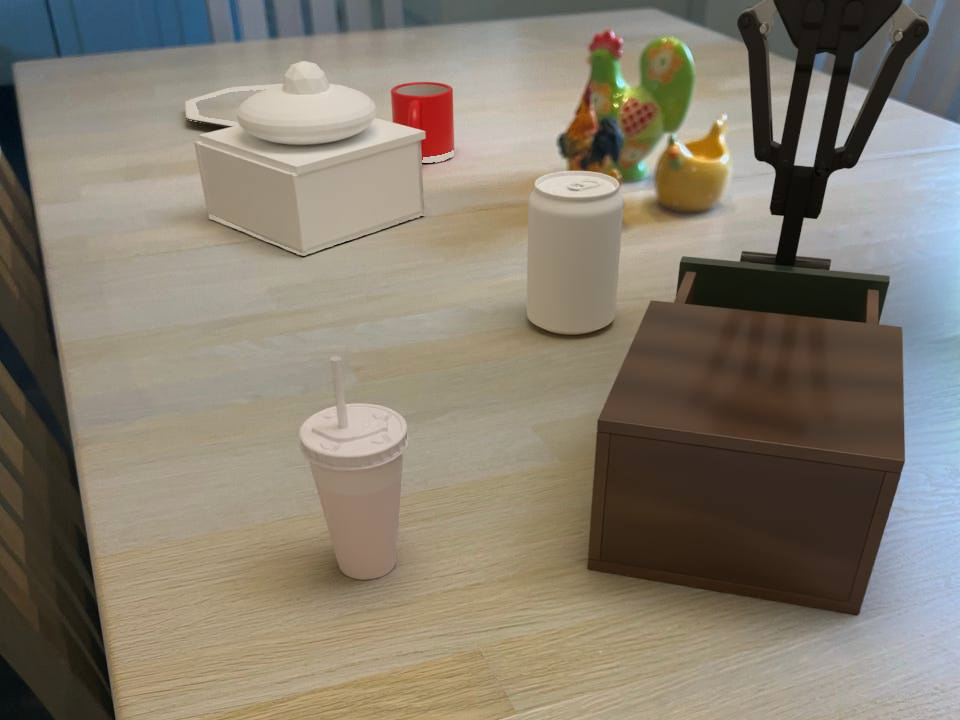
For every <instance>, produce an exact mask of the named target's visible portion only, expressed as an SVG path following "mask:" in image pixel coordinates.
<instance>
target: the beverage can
mask: <svg viewBox="0 0 960 720" xmlns="http://www.w3.org/2000/svg"><path fill="white" fill-rule="evenodd" d="M624 203H625V200H624V197H623V194H622V193H621V190H620V182H619V181H618V180H617V179H616V178H615V177H613V176H612V175H609V174H605V173H602V172H596V171H588V170H564V171H556V172H551V173H547V174H544V175H542V176H540V177H538V178H537V179H536V180H535V181H534V188H533V189H532V192H531V193H530V194H529V198H528V204H527V206H528V207H527V209H528V210H527V258H526V259H527V262H526V317H527V319H528V320H529V321H530V322H531V323H532V324H533V325H535V326H537V327H539V328H541V329H543V330H545V331H547V332H550V333H553V334H558V335H567V336H568V335H569V336H570V335H571V336H574V335H584V334H590V333H593V332H596V331H598V330H601V329H603V328H606V327H607V326H608V325H610V324H611V323H612V322H613V321H614V319H615V317H616V312H617V311H616V309H617V299H618V298H617V296H618V286H619V285H618V283H619V269H620V259H621V258H620V257H621V245H622V243H621V241H622V232H623V218H624Z"/></svg>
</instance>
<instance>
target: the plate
mask: <svg viewBox="0 0 960 720" xmlns="http://www.w3.org/2000/svg"><path fill="white" fill-rule="evenodd" d="M280 85H283V83H273V84H257V85H256V84H255V85H242V86H241V85H240V86H231V87H226V88H222V89H219V90H216V91H213V92H210V93H207V94H203V95H200V96H197V97H193V98H190V99H187V100H186V101H185V102H184V110H185V118H186V120H187V119H188V120H187V121H189V120H192V121H197V122H201V123H200V124H202V123H205V124H204V125H208V124H210V125H209V126H214V125H215V126H216V127H220V128H224V129H225V128H229V127H233V126H237V125H239V123H238V122H235V121H229V120H222V119H215V118H208V117H204V116H201V115H199V110H198V109H197V106H196V102H198V101H200V100H204V99H208V98H212V97H216V96H217V95H218V96H219V95H221V94H225V93H229V92H234V91H235V92H238V91H249V90H253V91H256V90H264V89H269V88H273V87H277V86H280ZM197 122H196V123H197ZM215 126H214V127H215Z"/></svg>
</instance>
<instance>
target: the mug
mask: <svg viewBox="0 0 960 720" xmlns="http://www.w3.org/2000/svg"><path fill="white" fill-rule="evenodd" d="M390 101H391V103H390V104H391V117H392V118H391V119H392V122H393V123H396V124H400V125H404V126H408V127H411V128H415V129H419V130H423V131H425V137H426V139H422V140H421V152H422V160H423V157H430V156H437V155H442V154H445V153H448V152H451V151H452V150H453V149H454V150H455V126H454V125H455V124H454V123H455V122H454V121H455V119H454V89H453V86H451V85H449V84H446V83H442V82H437V81H435V82H434V81H415V82H414V81H413V82H407V83H401V84H398V85H395V86H394V87H392V88H391V89H390Z"/></svg>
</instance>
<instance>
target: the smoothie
mask: <svg viewBox="0 0 960 720" xmlns="http://www.w3.org/2000/svg"><path fill="white" fill-rule="evenodd" d="M330 366H331V373H332V374H331V375H332V383H333V391H334V399H335V400H334V401H335V405H334V406H331V407H327V408H324V409H322V410H319V411H317V412H315V413H314V414H312V415H310V416H309V417H308V418H307V419H305V420H304V422H303V423H302V424H301V426H300V428H299V431H298V435H299V436H298V437H299V448H300V453H301V454H302V455H303V457H304V458H305V459H306V460H307V461H308V463H309V465H310V466H309V468H310V470H311V474H312V478H313V480H314V484H315V487H316V491H317V495H318V499H319V501H320V505H321V508H322V512H323V516H324V519H325V522H326V523H325V524H326V526H327V529H328V533H329V537H330V540H331V544H332V547H333V551H334V555H335V557H336V561H337V565H338V568H339V570H340V572H341V573H343V575H345V576H346V577H349V578H351V579H354V580H361V581H363V580H365V581H366V580H375V579H378V578H381V577H384V576H385V575H387V574H389V573H390V572H391V571H393V569H394V568H395V567H396V565H397V552H398V539H399V538H398V537H399V523H400V508H401V507H400V506H401V491H402V474H403V464H404V463H403V461H404V452H405V451H406V450H407V449H408V447H409V442H410V437H409V433H408V424H407V422H406V420H405V418H404V417H403V416H402V415H401V414H400V413H399V412H397V411H395V410H394V409H391V408H389V407H387V406H384V405H378V404H374V403H364V402H363V403H362V402H361V403H360V402H358V403H356V402H355V403H354V402H353V403H346V394H345V386H344V377H343V366H342V358H341V357H340V356H338V355H336V356H335V355H334V356H331V357H330Z"/></svg>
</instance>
